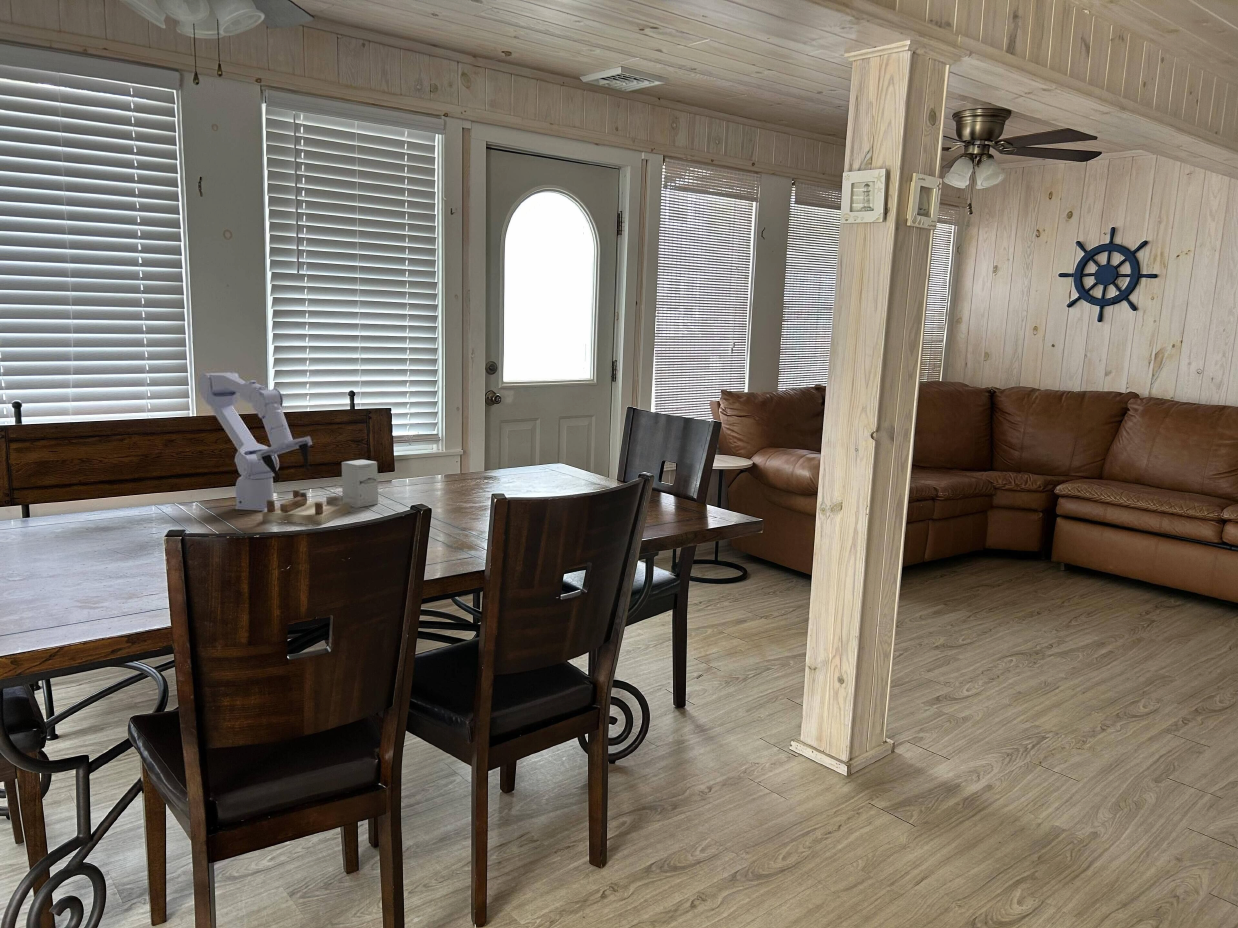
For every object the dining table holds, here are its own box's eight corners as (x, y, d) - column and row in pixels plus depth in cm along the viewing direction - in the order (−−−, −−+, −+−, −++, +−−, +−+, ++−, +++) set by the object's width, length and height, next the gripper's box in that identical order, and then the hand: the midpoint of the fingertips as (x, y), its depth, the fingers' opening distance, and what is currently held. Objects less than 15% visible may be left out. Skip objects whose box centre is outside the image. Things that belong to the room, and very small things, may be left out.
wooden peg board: (262, 521, 242) (261, 500, 241) (293, 508, 257) (292, 489, 256) (322, 524, 239) (321, 504, 238) (349, 511, 254) (349, 492, 253)
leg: (302, 502, 252) (301, 491, 251) (308, 502, 252) (308, 492, 251) (280, 511, 241) (279, 500, 240) (287, 511, 241) (286, 500, 240)
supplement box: (358, 508, 258) (356, 464, 256) (342, 504, 263) (340, 461, 260) (379, 504, 264) (377, 461, 262) (363, 500, 268) (361, 458, 266)
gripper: (248, 434, 240) (264, 481, 238) (303, 418, 245) (320, 463, 243) (252, 442, 247) (268, 487, 245) (305, 425, 251) (321, 470, 249)
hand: (294, 476), depth 244 cm, fingers open, 7 cm apart
